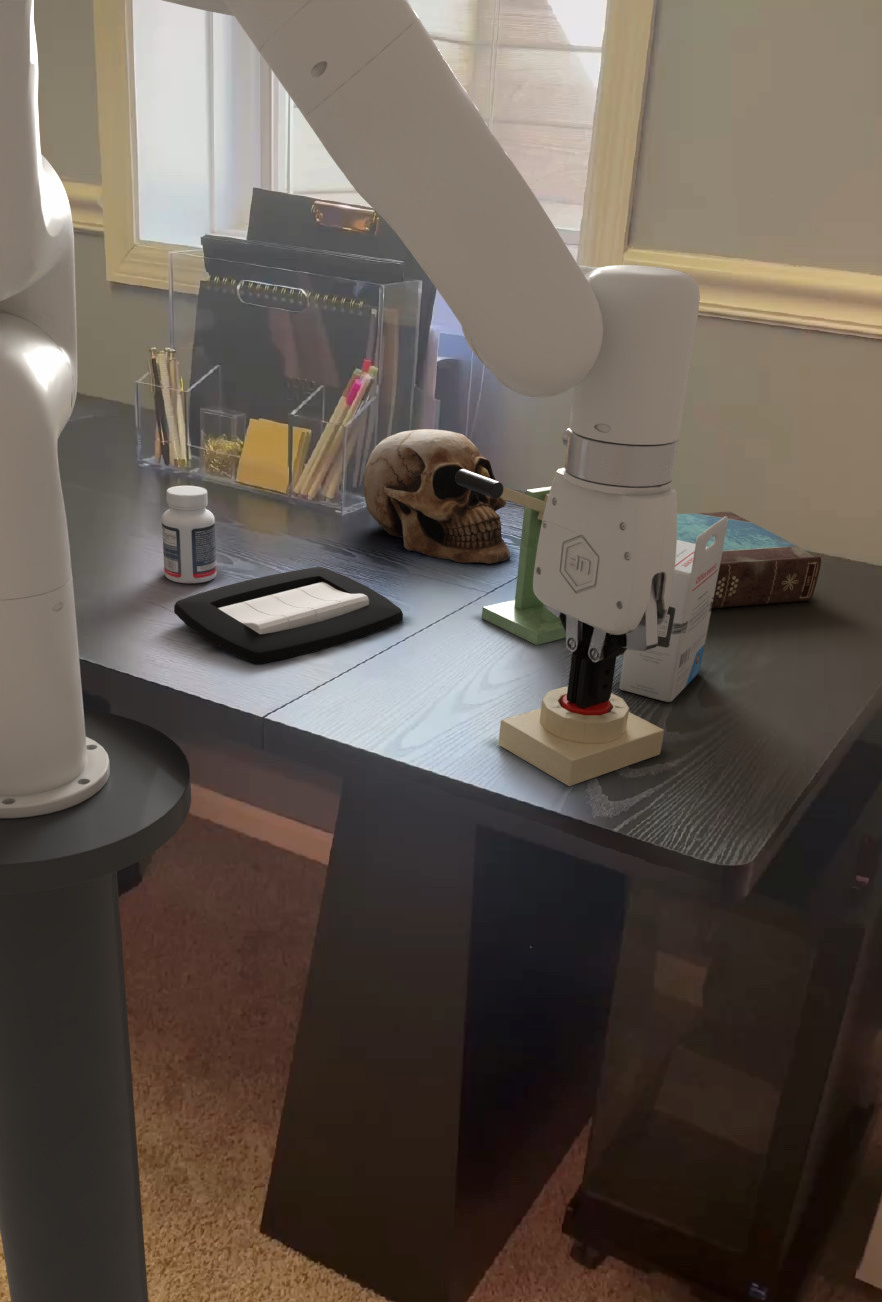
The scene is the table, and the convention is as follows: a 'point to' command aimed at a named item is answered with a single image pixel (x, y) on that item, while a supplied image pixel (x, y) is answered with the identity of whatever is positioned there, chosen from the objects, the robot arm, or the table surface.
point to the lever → (498, 491)
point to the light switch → (287, 614)
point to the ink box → (679, 622)
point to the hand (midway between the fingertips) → (588, 700)
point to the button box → (579, 739)
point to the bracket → (527, 589)
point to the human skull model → (434, 496)
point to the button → (591, 710)
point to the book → (754, 562)
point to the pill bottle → (188, 536)
